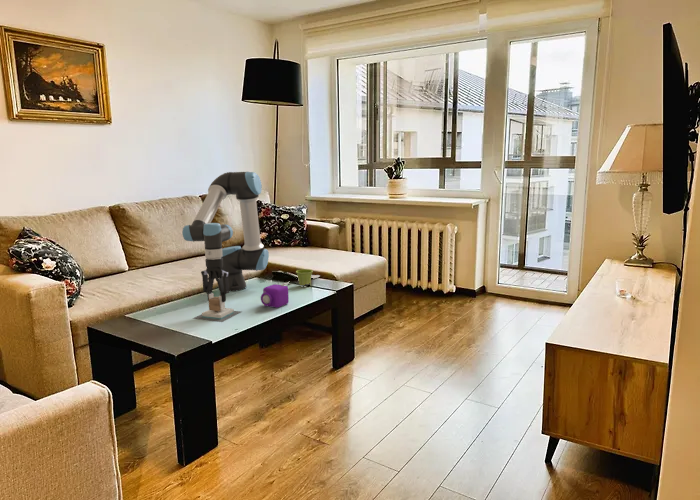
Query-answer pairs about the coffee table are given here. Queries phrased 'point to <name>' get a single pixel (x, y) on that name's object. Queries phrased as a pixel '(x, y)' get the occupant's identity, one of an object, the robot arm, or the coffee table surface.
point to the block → (214, 304)
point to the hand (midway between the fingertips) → (217, 308)
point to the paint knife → (311, 277)
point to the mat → (217, 319)
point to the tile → (218, 313)
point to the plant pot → (304, 276)
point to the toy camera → (275, 295)
